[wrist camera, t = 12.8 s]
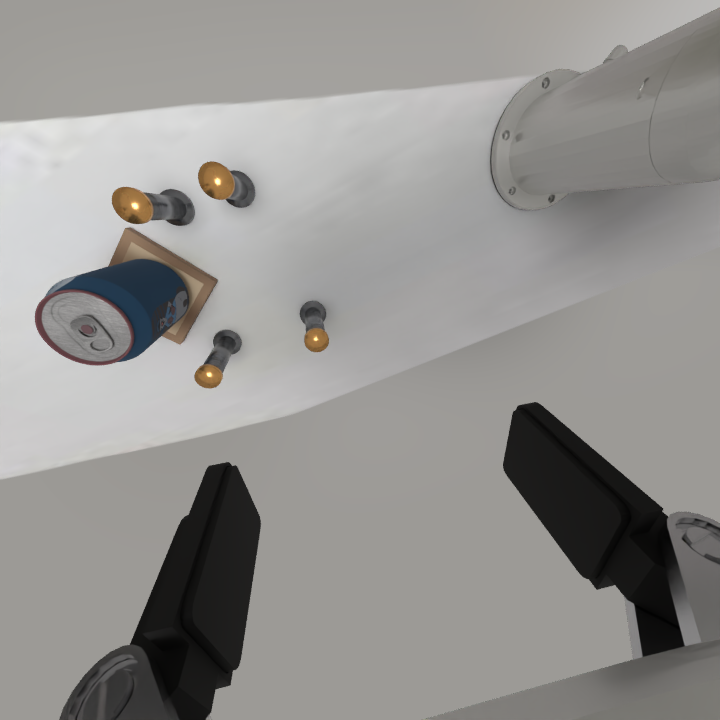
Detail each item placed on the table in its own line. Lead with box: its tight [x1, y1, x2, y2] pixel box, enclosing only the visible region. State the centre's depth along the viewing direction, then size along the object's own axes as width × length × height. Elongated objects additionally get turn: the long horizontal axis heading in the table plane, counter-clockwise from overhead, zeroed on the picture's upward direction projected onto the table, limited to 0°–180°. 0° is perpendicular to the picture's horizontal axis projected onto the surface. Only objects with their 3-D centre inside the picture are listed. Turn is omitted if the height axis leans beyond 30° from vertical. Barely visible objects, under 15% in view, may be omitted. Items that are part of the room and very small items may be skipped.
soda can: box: [35, 259, 189, 365], centre depth 26 cm, size 7×7×12 cm
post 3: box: [195, 330, 242, 388], centre depth 32 cm, size 3×3×9 cm
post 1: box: [112, 187, 194, 226], centre depth 25 cm, size 3×3×9 cm
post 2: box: [198, 162, 255, 208], centre depth 25 cm, size 3×3×9 cm
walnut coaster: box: [108, 228, 218, 344], centre depth 32 cm, size 9×9×1 cm
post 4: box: [300, 301, 329, 352], centre depth 33 cm, size 3×3×9 cm
